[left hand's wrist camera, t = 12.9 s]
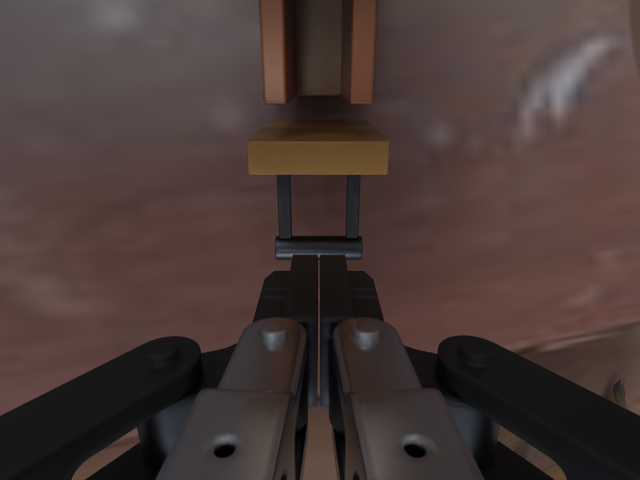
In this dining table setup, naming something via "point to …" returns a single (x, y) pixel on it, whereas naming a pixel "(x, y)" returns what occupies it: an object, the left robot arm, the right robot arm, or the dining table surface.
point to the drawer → (318, 135)
